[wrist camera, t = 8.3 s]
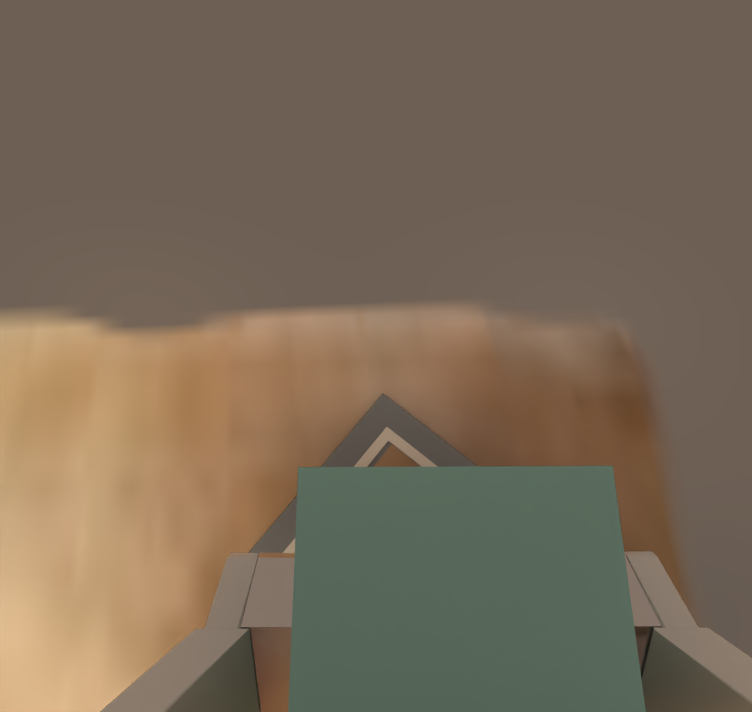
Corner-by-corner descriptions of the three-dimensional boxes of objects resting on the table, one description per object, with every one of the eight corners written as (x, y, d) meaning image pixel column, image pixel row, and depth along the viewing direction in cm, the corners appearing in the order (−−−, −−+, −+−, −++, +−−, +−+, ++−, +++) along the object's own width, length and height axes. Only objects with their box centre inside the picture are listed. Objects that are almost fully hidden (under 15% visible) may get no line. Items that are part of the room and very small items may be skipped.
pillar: (336, 710, 14) (282, 846, 7) (339, 527, 16) (298, 467, 8) (515, 711, 14) (663, 847, 7) (502, 526, 15) (612, 465, 8)
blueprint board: (219, 588, 29) (217, 588, 29) (383, 395, 32) (383, 392, 32) (426, 782, 26) (426, 784, 26) (582, 549, 29) (585, 548, 29)
